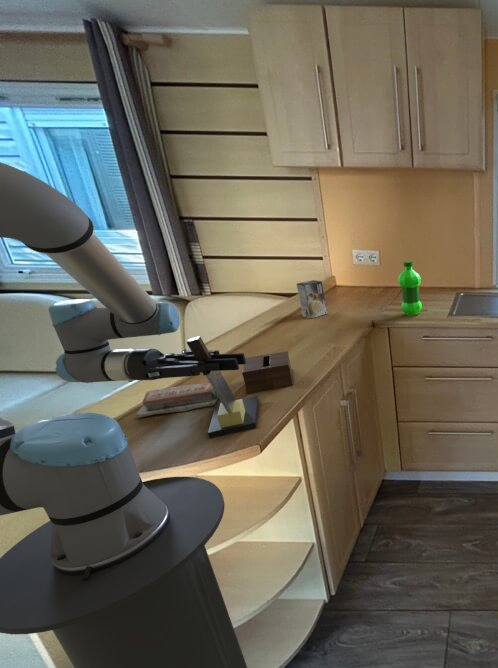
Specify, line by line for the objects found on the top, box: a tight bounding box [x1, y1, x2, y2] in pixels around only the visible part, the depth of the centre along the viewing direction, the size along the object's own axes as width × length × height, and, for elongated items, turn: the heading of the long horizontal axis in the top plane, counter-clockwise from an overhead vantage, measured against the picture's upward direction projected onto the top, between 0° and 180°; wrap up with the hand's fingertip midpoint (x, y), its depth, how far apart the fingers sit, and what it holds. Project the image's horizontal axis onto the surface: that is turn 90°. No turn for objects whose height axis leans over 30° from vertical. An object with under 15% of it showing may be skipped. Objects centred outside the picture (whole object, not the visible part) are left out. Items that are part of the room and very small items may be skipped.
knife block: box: [241, 351, 294, 394], centre depth 126 cm, size 12×12×7 cm
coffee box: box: [296, 279, 328, 319], centre depth 190 cm, size 9×6×16 cm
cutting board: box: [207, 395, 259, 439], centre depth 107 cm, size 16×10×2 cm, turn 27°
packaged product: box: [134, 381, 219, 419], centre depth 113 cm, size 18×5×10 cm
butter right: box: [229, 398, 245, 426], centre depth 104 cm, size 7×2×4 cm, turn 27°
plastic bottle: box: [397, 260, 423, 317], centre depth 191 cm, size 10×10×25 cm
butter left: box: [217, 402, 232, 428], centre depth 103 cm, size 7×2×4 cm, turn 27°
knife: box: [186, 335, 236, 414], centre depth 99 cm, size 8×2×19 cm, turn 26°
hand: (240, 361), depth 98 cm, fingers closed on knife, 3 cm apart
